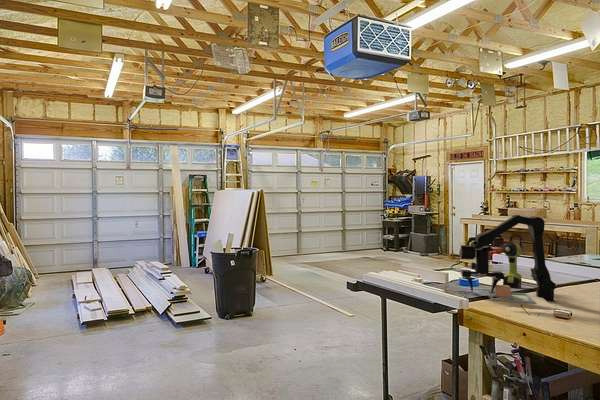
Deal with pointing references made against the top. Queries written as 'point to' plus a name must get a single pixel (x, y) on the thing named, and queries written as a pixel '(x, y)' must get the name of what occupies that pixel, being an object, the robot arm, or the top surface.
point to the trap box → (513, 295)
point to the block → (503, 290)
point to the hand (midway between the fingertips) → (481, 291)
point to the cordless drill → (512, 265)
